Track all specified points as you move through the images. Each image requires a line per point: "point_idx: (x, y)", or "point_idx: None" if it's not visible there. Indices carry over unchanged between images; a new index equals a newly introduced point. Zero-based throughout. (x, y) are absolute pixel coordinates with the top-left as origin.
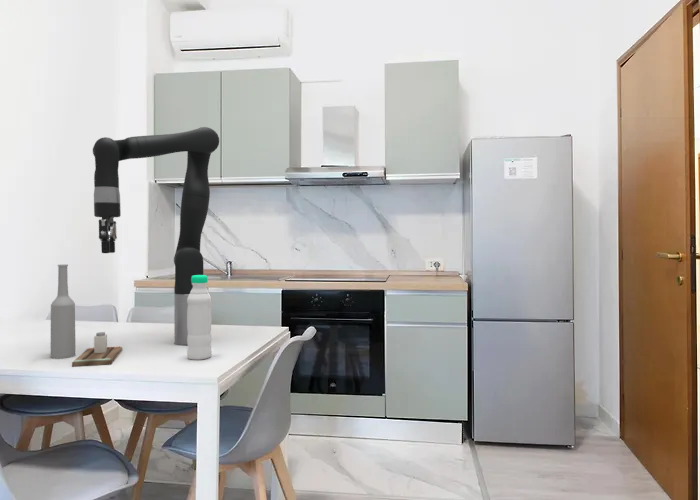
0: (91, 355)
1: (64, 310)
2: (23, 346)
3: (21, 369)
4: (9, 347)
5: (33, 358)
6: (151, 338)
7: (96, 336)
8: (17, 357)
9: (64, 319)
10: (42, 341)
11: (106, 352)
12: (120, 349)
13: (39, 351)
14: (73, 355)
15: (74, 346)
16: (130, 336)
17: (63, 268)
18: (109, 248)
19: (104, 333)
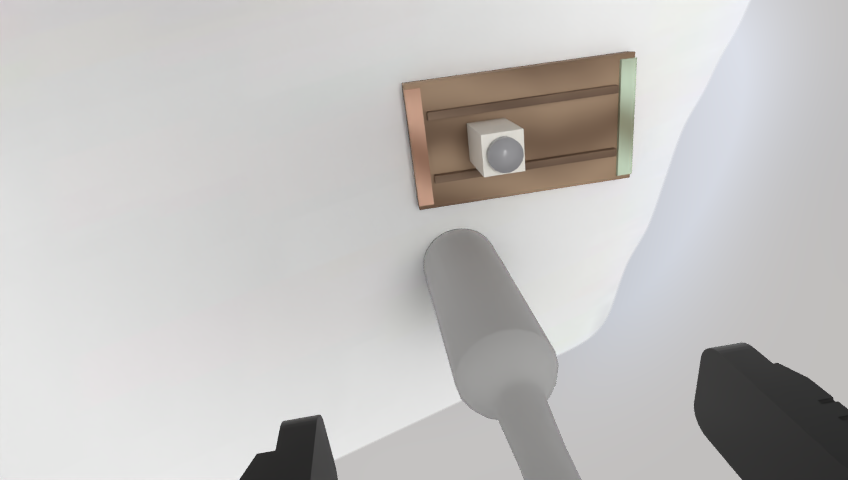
0: (539, 152)
1: (545, 335)
2: None
3: (612, 298)
4: None
5: None
6: (108, 20)
7: (523, 163)
8: None
9: (532, 313)
10: (203, 427)
11: (536, 103)
12: (438, 79)
13: (374, 361)
14: (469, 230)
15: (468, 241)
16: (65, 145)
17: None
18: (778, 383)
19: (512, 138)
